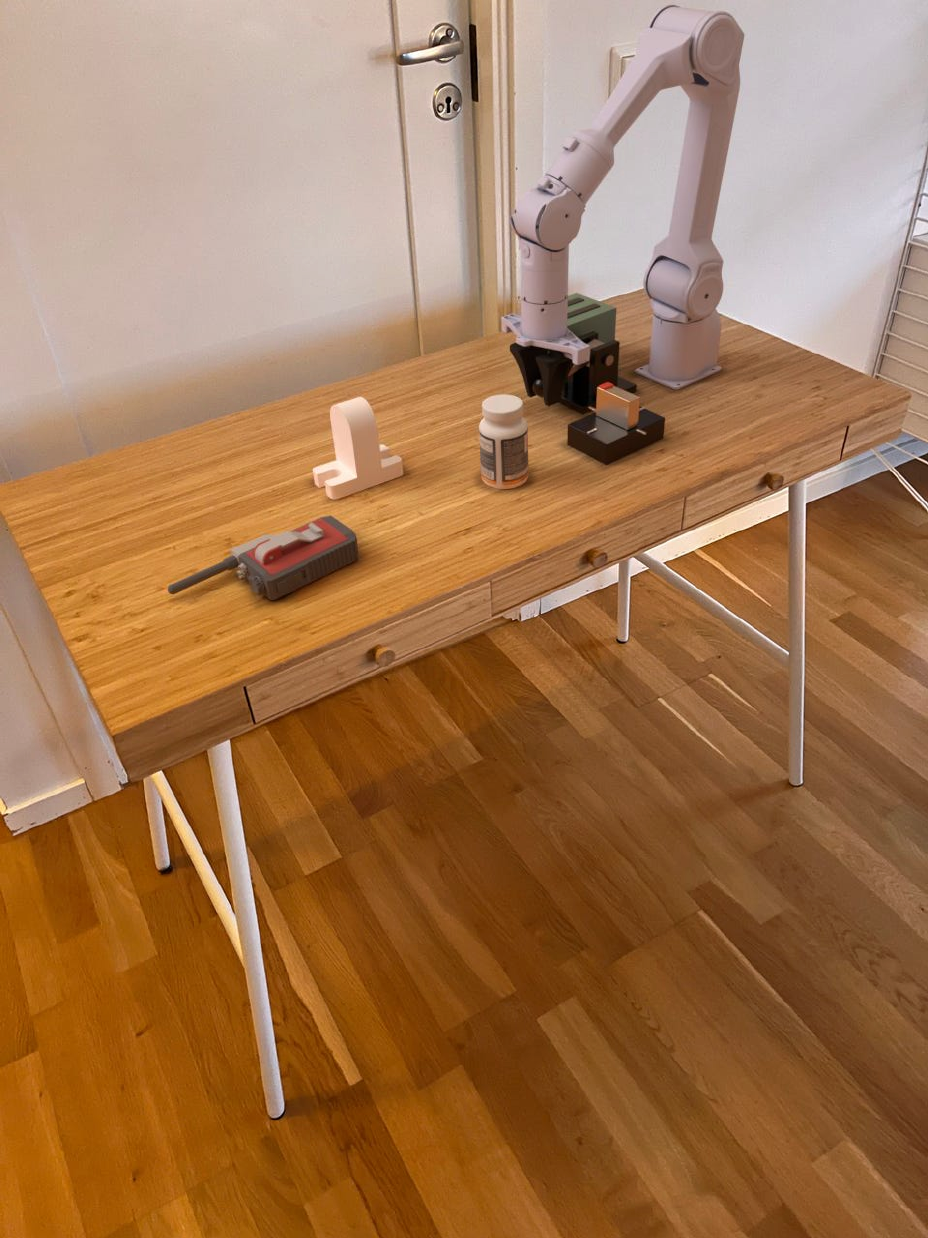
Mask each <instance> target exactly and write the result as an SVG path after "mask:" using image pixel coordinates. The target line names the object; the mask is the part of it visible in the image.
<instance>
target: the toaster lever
mask: <svg viewBox="0 0 928 1238" xmlns="http://www.w3.org/2000/svg"><path fill="white" fill-rule="evenodd" d="M602 344H605V343H603V342H601V341H599V340H596V339H594V340H592V341H591V342H589V343H588V344H587V345H589V346H590V349H592V348H594V347H597V346H600V345H602ZM584 366H588V367H590V357H589V361H587V362H585V363H582V364H579V365H576V364H574V365H573V367H572V369H571V371H570V373H569V375H568V376H570V375H572V374H573V373H575V372H576V371H578V370H579V369H581V368H582V367H584ZM532 389H533V392H534V393H535V394H536V397H538V398H543V399H544V397H543V382H542V376H541V374H540V375H538V376H537V377H536V378H535V379H534V380H533V383H532Z"/></svg>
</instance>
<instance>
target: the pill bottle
mask: <svg viewBox="0 0 928 1238" xmlns="http://www.w3.org/2000/svg"><path fill="white" fill-rule="evenodd" d="M481 414H482V416H483V418H481V420H480V422H479V425H478V436H479V439H478V440H479V457H480V458H479V460H480V475H481V480H482V482H483V483H484V484H485V485H486V486H488V487H490V488H492V489H497V490H511V489H516V488H519V487H520V486H522V485H524V484H525V483H526V482H527V480H528V479H529V427H528V422H527V420H526V419H525V417H524V416H523V414H524V402H523V400H522V399H521V398H520V397H519V396H516V395H513V394H503V393H502V394H495V395H492V396H488V397H487V398H485V399H484V400H483V401H482V404H481Z"/></svg>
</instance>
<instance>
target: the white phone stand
mask: <svg viewBox="0 0 928 1238" xmlns="http://www.w3.org/2000/svg"><path fill="white" fill-rule="evenodd" d="M329 420H330V426H331V432H332V433H331V434H332V440H333V446H334V453H335V460H333V461H330V462H327V463H323V464H320V465H318V466H316V467H313V468H312V475H313V479H314V481H313V482H314V485H315V486H316V487H317V488H318V489H320V488H321V489H322V488H324V487H325V493H326V496H327V497H328V499H330V500H333V501H336V500H340V499H343V498H345V497H348V496H351V495H353V494H355V493H359V492H361V491H363V490H368V489H369V488H373V487H375V486H377V485H380V484H383V483H386V482H389V481H391V480H394V479H398V478H399V477H402V476H403V475H404V465H403V458H402V457H401V456H399V455H398V454H395V455H393V456H391V454H390V448H389V447H388V446H387V445H386V444H380V438H379V430H378V422H377V419H376V416H375V413H374V410H373V409H372V406H371V405H370V403H369V402H368V400H366V398H365V397H363V396H357V397H355V398H351V399H348V400H345V401H342V402H339V403H336V404H332V406H331V407H330V409H329Z"/></svg>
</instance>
